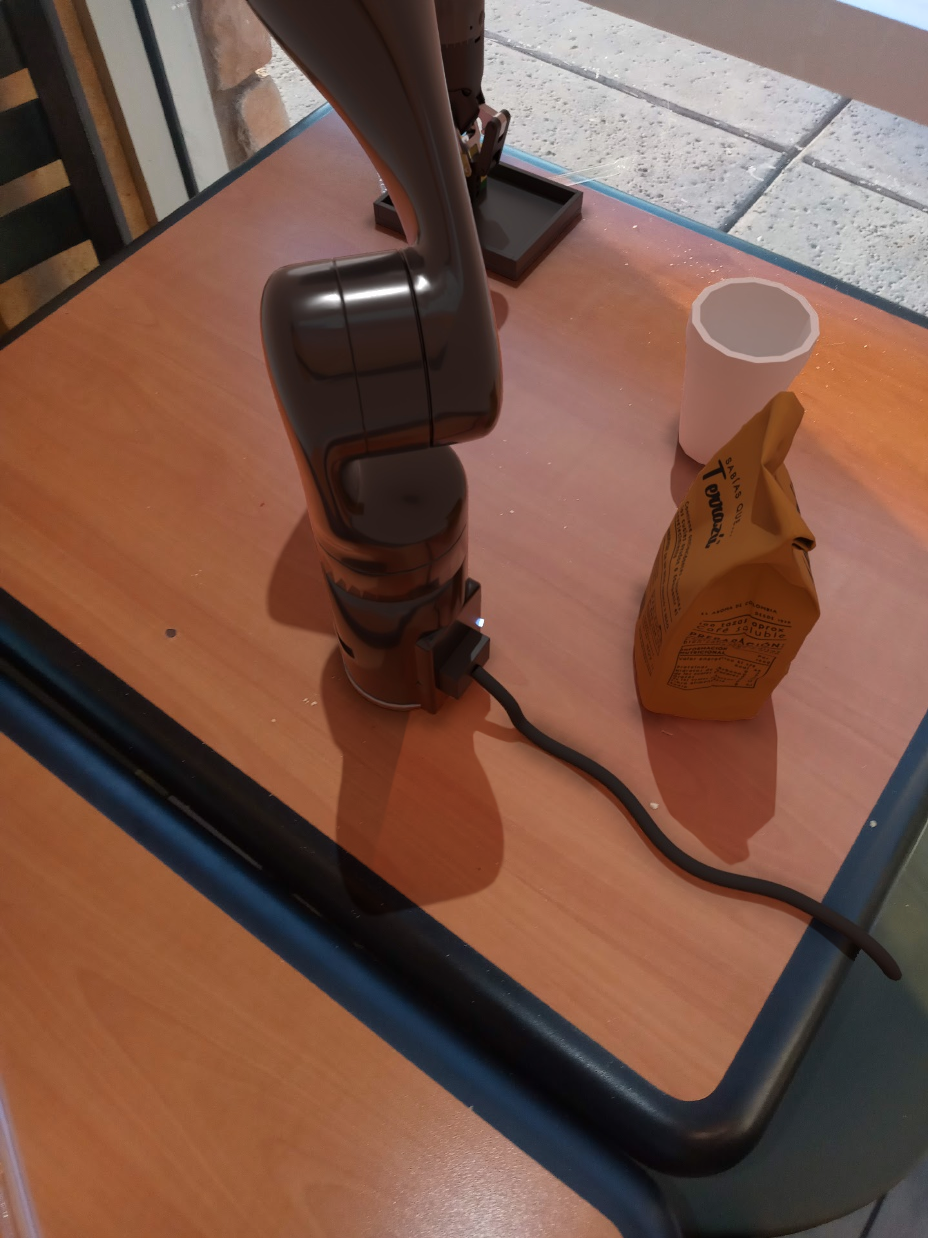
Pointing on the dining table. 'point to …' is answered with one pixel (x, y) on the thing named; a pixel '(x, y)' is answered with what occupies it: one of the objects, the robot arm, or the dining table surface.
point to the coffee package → (730, 580)
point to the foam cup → (740, 357)
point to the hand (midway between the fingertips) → (446, 193)
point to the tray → (510, 217)
